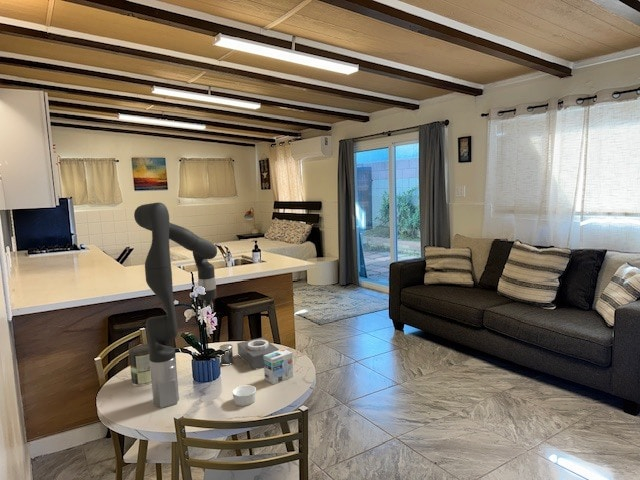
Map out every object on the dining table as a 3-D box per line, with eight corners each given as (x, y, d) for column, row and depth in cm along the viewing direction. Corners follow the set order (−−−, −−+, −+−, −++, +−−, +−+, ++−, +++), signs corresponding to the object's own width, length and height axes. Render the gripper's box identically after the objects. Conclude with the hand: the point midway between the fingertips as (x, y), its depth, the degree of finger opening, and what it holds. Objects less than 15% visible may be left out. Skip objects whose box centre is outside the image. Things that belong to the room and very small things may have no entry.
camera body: (280, 362, 197) (279, 346, 196) (254, 369, 190) (253, 353, 189) (263, 349, 214) (262, 334, 213) (238, 355, 207) (237, 340, 206)
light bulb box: (273, 385, 175) (271, 359, 174) (263, 379, 180) (262, 355, 179) (294, 376, 182) (293, 352, 181) (284, 371, 187) (283, 348, 186)
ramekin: (235, 395, 167) (235, 385, 167) (258, 395, 167) (257, 384, 167) (230, 407, 159) (229, 396, 158) (254, 407, 158) (253, 395, 158)
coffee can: (126, 385, 179) (123, 353, 177) (140, 375, 189) (137, 344, 187) (149, 386, 178) (146, 353, 176) (162, 375, 188) (159, 344, 186)
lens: (235, 363, 197) (234, 347, 196) (222, 366, 194) (221, 349, 193) (231, 359, 202) (229, 343, 201) (218, 362, 199) (217, 345, 198)
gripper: (217, 290, 184) (219, 327, 187) (214, 282, 197) (216, 316, 200) (199, 292, 181) (201, 329, 184) (197, 284, 195) (199, 318, 197)
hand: (209, 323), depth 192 cm, fingers open, 8 cm apart
